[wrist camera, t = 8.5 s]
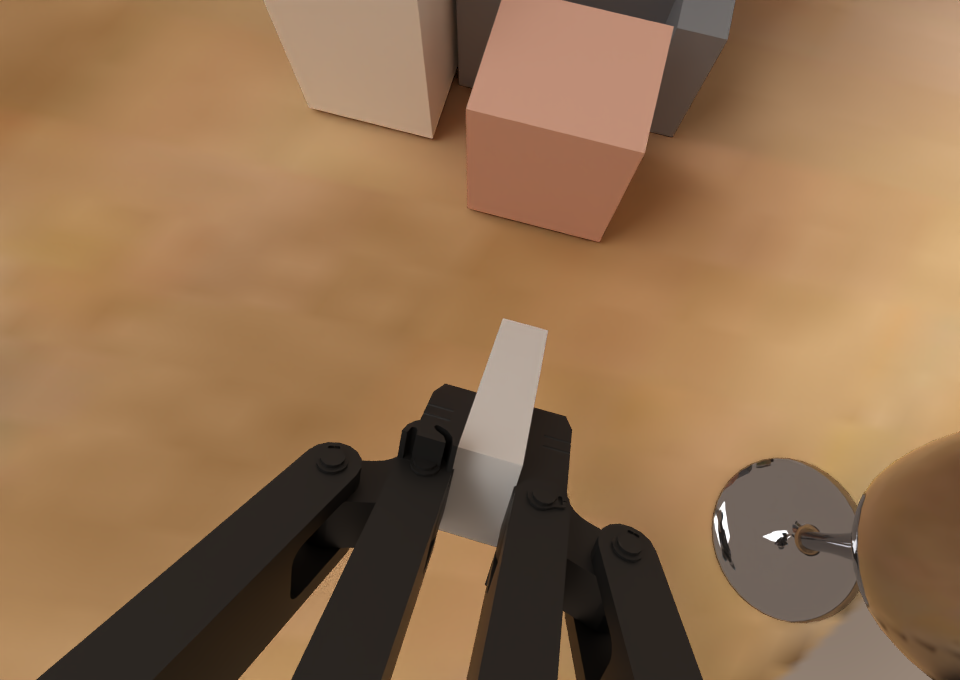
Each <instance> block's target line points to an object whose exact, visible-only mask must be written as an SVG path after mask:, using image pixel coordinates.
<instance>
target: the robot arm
mask: <svg viewBox="0 0 960 680" xmlns="http://www.w3.org/2000/svg"><path fill="white" fill-rule="evenodd" d="M547 334H548V330H545V329H541V328H537V327H534V326H530V325H526V324H523V323H519V322H515V321H512V320H508V319H504V318H503V320H502V322H501V325H500V328H499V331H498V334H497V337H496V340H495V342H494V345H493V348H492V351H491V354H490V357H489V360H488V362H487V365H486V368H485V371H484V374H483V377H482V379H481V382H480V385H479V388H478V391H477V393H476V392H473V391H469V390H466V389H462V388H459V387H455V386H452V385H448V384H444V385H443V386H441V387H440V388H438V389H437V390H435V391H434V392H433V394H432V396H431V398H430V400H429V402H428V405H427V407H426V409H425V411H424V414H423V415H422V417H421V420H418V421H414V422H412V423H410V424H407V426H406V427H405V428H404V429H403V430H402V434H401V440H400V446H399V452H398V456H397V457H395V458H393V459H389V460H385V461H362V459H361V457H360V455H359V454H358V452H357V451H356V450H354V449H353V448H352V447H350V446H348V445H345V444H342V443H333V442H327V443H323V444H318V445H316V446H314V447H313V448H311V449H309V450H308V451H307V452H305V453H304V454H303V455H302V456H301V457H299V458H298V459H297V460H296V461H295V462H294V463H292V464H291V465H290V466H289V467H288V468H286V469H285V470H284V471H283V472H282V473H281V474H279V475H278V476H277V477H276V478H275V479H273V480H272V481H271V482H270V483H269V484H268V485H266V486H265V487H264V488H263V489H262V490H260V491H259V492H258V493H257V494H256V495H254V496H253V497H252V498H251V499H250V500H249V501H247V502H246V503H245V504H244V505H243V506H241V507H240V508H239V509H238V510H237V511H236V512H234V513H233V514H232V515H231V516H230V517H228V518H227V519H226V520H225V521H224V522H222V523H221V524H220V525H219V526H218V527H217V528H215V529H214V530H213V531H212V532H211V533H209V534H208V535H207V536H206V537H205V538H204V539H202V540H201V541H200V542H199V543H198V544H196V545H195V546H194V547H193V548H192V549H191V550H189V551H188V552H187V553H186V554H185V555H183V556H182V557H181V558H180V559H179V560H177V561H176V562H175V563H174V564H173V565H172V566H170V567H169V568H168V569H167V570H166V571H164V572H163V573H162V574H161V575H160V576H159V577H157V578H156V579H155V580H154V581H153V582H151V583H150V584H149V585H148V586H147V587H145V588H144V589H143V590H142V591H141V592H140V593H138V594H137V595H136V596H135V597H134V598H132V599H131V600H130V601H129V602H128V603H127V604H125V605H124V606H123V607H122V608H121V609H119V610H118V611H117V612H116V613H115V614H114V615H112V616H111V617H110V618H109V619H108V620H106V621H105V622H104V623H103V624H102V625H100V626H99V627H98V628H97V629H96V630H95V631H93V632H92V633H91V634H90V635H89V636H87V637H86V638H85V639H84V640H83V641H82V642H80V643H79V644H78V645H77V646H76V647H74V648H73V649H72V650H71V651H70V652H69V653H67V654H66V655H65V656H64V657H63V658H61V659H60V660H59V661H58V662H57V663H55V664H54V665H53V666H52V667H51V668H50V669H48V670H47V671H46V672H45V673H44V674H42V675H41V676H40V677H39V678H38V679H37V680H238V679H239V678H240V677H241V675H242V674H243V673H244V672H245V671H246V670H247V668H248V667H249V666H250V665H251V664H252V663H253V661H254V660H255V659H256V658H257V657H258V656H259V654H260V653H261V652H262V651H263V650H264V649H265V647H266V646H267V645H268V644H269V643H270V642H271V640H272V639H273V638H274V637H275V636H276V635H277V633H278V632H279V631H280V630H281V629H282V628H283V626H284V625H285V624H286V623H287V622H288V621H289V619H290V618H291V617H292V616H293V615H294V614H295V612H296V611H297V610H298V609H299V608H300V607H301V605H302V604H303V603H304V602H305V601H306V600H307V598H308V597H309V596H310V595H311V594H312V593H313V591H314V590H315V589H316V588H317V587H318V586H319V584H320V583H321V582H322V581H323V580H324V579H325V577H326V576H327V575H328V574H329V573H330V572H331V570H332V569H333V568H334V567H335V566H336V565H337V563H338V562H339V561H340V560H341V559H342V558H343V556H344V555H345V554H346V553H347V551H348V550H349V548H354V550H353V552H352V554H351V556H350V558H349V560H348V562H347V564H346V566H345V568H344V571H343V573H342V575H341V577H340V579H339V581H338V583H337V585H336V587H335V589H334V591H333V594H332V596H331V598H330V600H329V602H328V604H327V606H326V608H325V610H324V612H323V614H322V617H321V619H320V621H319V623H318V625H317V627H316V629H315V631H314V633H313V635H312V638H311V640H310V642H309V644H308V646H307V648H306V650H305V652H304V654H303V656H302V658H301V661H300V663H299V665H298V667H297V669H296V671H295V673H294V675H293V677H292V679H291V680H391V677H392V674H393V671H394V668H395V664H396V661H397V658H398V655H399V652H400V649H401V646H402V643H403V640H404V637H405V634H406V631H407V628H408V625H409V621H410V618H411V615H412V612H413V609H414V606H415V603H416V600H417V597H418V594H419V591H420V588H421V585H422V582H423V578H424V575H425V572H426V569H427V566H428V563H429V560H430V557H431V554H432V551H433V548H434V544H435V540H436V535H437V532H438V530H441V531H445V532H448V533H451V534H455V535H458V536H461V537H465V538H468V539H471V540H475V541H478V542H481V543H485V544H488V545H491V546H495V547H497V548H496V552H495V555H494V558H493V561H492V564H491V567H490V570H489V574H488V577H487V580H486V583H485V585H486V586H487V587H486V592H485V596H484V601H483V606H482V610H481V615H480V620H479V624H478V629H477V634H476V638H475V643H474V648H473V652H472V657H471V662H470V666H469V671H468V675H467V680H557V679H558V666H559V653H560V639H561V626H562V613H563V611H564V612H565V619H566V625H567V630H568V636H569V641H570V647H571V652H572V658H573V663H574V669H575V674H576V680H703V678H702V676H701V673H700V670H699V668H698V665H697V662H696V659H695V657H694V654H693V651H692V648H691V646H690V643H689V640H688V637H687V635H686V632H685V629H684V626H683V624H682V621H681V618H680V616H679V613H678V610H677V607H676V605H675V602H674V599H673V596H672V594H671V591H670V588H669V585H668V583H667V580H666V577H665V574H664V572H663V569H662V566H661V563H660V561H659V558H658V555H657V553H656V550H655V548H654V547H653V545H652V543H651V541H650V540H649V539H648V538H646V537H645V536H644V535H643V534H642V533H641V532H639V531H637V530H636V529H634V528H632V527H630V526H626V525H622V524H610V525H608V526H606V527H604V528H603V529H602V530H601V529H599V528H597V527H596V526H594V525H592V524H590V523H589V522H587V521H586V520H584V519H583V518H581V517H580V516H579V515H578V514H577V513H576V512H575V511H574V509H573V508H572V506H571V505H570V502H569V498H568V497H567V484H568V472H569V460H570V448H571V445H570V444H571V436H572V429H571V427H570V424H569V422H568V420H567V418H566V416H562V415H559V414H555V413H552V412H548V411H544V410H541V409H537V408H534V403H535V398H536V392H537V387H538V382H539V377H540V371H541V366H542V361H543V355H544V350H545V345H546V339H547Z"/></svg>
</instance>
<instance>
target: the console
mask: <svg viewBox="0 0 960 680" xmlns="http://www.w3.org/2000/svg"><path fill="white" fill-rule="evenodd" d="M563 1H568V2H572V3H576V4H580V5H585V6H589V7H593V8H597V9H602V10H606V11H610V12H614V13H619V14H623V15H627V16H631V17H636V18H640V19H644V20H648V21H653V22H657V23H661V24H665V25H670V26H674V28H673V32H672V37H671V41H670V45H669V50H668V54H667V58H666V63H665V67H664V71H663V76H662V80H661V84H660V89H659V93H658V98H657V102H656V106H655V111H654V115H653V119H652V124H651V128H650V132H653V133H657V134H662V135H666V136H670V137H673V135H674V134H675V132H676V130H677V128H678V126H679V125H680V123H681V121H682V119H683V118H684V116H685V114H686V112H687V111H688V109H689V107H690V105H691V104H692V102H693V100H694V98H695V96H696V95H697V93H698V91H699V89H700V88H701V86H702V84H703V82H704V81H705V79H706V77H707V75H708V74H709V72H710V70H711V68H712V66H713V65H714V63H715V61H716V59H717V58H718V56H719V54H720V52H721V51H722V49H723V47H724V45H725V44H726V42H727V40H728V35H729V30H730V25H731V20H732V15H733V10H734V5H735V0H563ZM500 3H501V0H456V6H457V37H458V68H459V85H462V86H466V87H470V88H473V86H474V82H475V79H476V76H477V73H478V70H479V67H480V64H481V61H482V58H483V55H484V52H485V49H486V46H487V43H488V40H489V37H490V34H491V31H492V28H493V24H494V21H495V18H496V15H497V12H498V9H499V6H500Z"/></svg>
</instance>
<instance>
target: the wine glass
mask: <svg viewBox="0 0 960 680" xmlns="http://www.w3.org/2000/svg"><path fill="white" fill-rule="evenodd" d="M712 538H713V545H714V550H715V554H716V558H717V560H718V562H719V565H720V567H721V570H722V572H723V573H724V575H725V577H726V578H727V580H728V582H729V584H730V585H731V586H732V587H733V588H734V590H735V591H736V592H737V593H738V594H739V596H741V597H742V598H743V599H744V600H745V601H746V602H747V603H748V604H750V605H751V606H752V607H754V608H755V609H757V610H759V611H760V612H762V613H763V614H766V615H768V616H770V617H773V618H775V619H778V620H782V621H787V622H791V623H809V622H815V621H820V620H823V619H825V618H828V617H830V616H833V615H834V614H836V613H837V612H839V611H840V610H842V609H843V608H845V607H846V606H847V605H848V604H849V603H850V602H851V601H852V600H853V599H854V597H855V596H856V594H857V593H858V591H859V590H860V593H861V595H862V597H863V599H864V601H865V603H866V606H867V608H868V610H869V611H870V613H871V615H872V616H873V618H874V619H875V621H876V622H877V624H878V625H879V627H880V628H881V630H882V631H883V632H884V633H885V634H886V635H887V637H888V638H889V639H890V640H891V641H892V642H893V643H894V645H895V646H896V647H897V648H898V649H899V650H900V651H901V652H902V653H903V654H904V655H905V656H906V657H907V658H908V659H909V660H910V661H911V662H912V663H913V664H915V665H916V666H917V667H918V668H919V669H920V670H921V671H923V672H924V673H925V674H926V675H927V676H929V677H930V678H931V679H932V680H960V431H959V432H956V433H953V434H950V435H947V436H945V437H942V438H939V439H936V440H933V441H931V442H929V443H927V444H925V445H923V446H921V447H918V448H916V449H914V450H912V451H910V452H909V453H907V454H905V455H904V456H902V457H900V458H899V459H897V460H896V461H894V462H893V463H892V464H890V465H889V466H888V467H886V468H885V469H884V470H883V471H882V472H881V473H880V474H879V475H878V476H877V477H876V478H875V479H873V481H872V482H871V483H870V485H869V486H868V488H867V489H866V491H865V492H864V494H863V495H862V498H861V500H860V502H859V505H858V507H857V505H856V504H855V502H854V501H853V499H852V498H851V496H850V495H849V493H848V492H847V491H846V490H845V489H844V488H843V487H842V486H841V485H840V483H839V482H837V481H836V480H835V479H834V478H832V477H831V476H830V475H829V474H827V473H826V472H824V471H822V470H821V469H819V468H817V467H816V466H813V465H811V464H808V463H806V462H803V461H799V460H795V459H790V458H771V459H764V460H761V461H758V462H755V463H752V464H750V465H748V466H747V467H745V468H743V469H741V470H740V471H739V472H738V473H736V474H735V475H734V476H733V477H732V478H731V479H730V480H729V481H728V483H727V484H726V485H725V487H724V488H723V490H722V492H721V494H720V496H719V498H718V500H717V502H716V506H715V509H714V513H713V521H712Z"/></svg>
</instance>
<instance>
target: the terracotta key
mask: <svg viewBox="0 0 960 680" xmlns="http://www.w3.org/2000/svg"><path fill="white" fill-rule="evenodd" d="M673 28H674V26H670V25H665V24H661V23H657V22H653V21H648V20H644V19H640V18H636V17H631V16H627V15H623V14H619V13H614V12H610V11H606V10H602V9H597V8H593V7H589V6H585V5H580V4H576V3H572V2H568V1H563V0H501V3H500V6H499V9H498V12H497V15H496V18H495V21H494V24H493V28H492V31H491V34H490V37H489V40H488V43H487V46H486V49H485V52H484V55H483V58H482V61H481V64H480V67H479V70H478V73H477V76H476V79H475V82H474V86H473V89H472V92H471V95H470V98H469V101H468V104H467V107H466V150H467V208H469V209H473V210H476V211H480V212H484V213H488V214H492V215H496V216H500V217H504V218H508V219H511V220H515V221H519V222H523V223H527V224H531V225H535V226H539V227H542V228H546V229H550V230H554V231H558V232H562V233H566V234H570V235H573V236H577V237H581V238H585V239H589V240H593V241H597V242H600V240H601V238H602V236H603V234H604V232H605V230H606V228H607V226H608V224H609V222H610V220H611V218H612V216H613V214H614V212H615V210H616V208H617V207H618V205H619V203H620V201H621V199H622V197H623V195H624V193H625V191H626V189H627V187H628V185H629V183H630V181H631V179H632V177H633V175H634V173H635V171H636V169H637V167H638V165H639V163H640V162H641V160H642V158H643V156H644V154H645V150H646V146H647V141H648V137H649V132H650V128H651V124H652V119H653V115H654V111H655V106H656V102H657V98H658V93H659V89H660V84H661V80H662V76H663V71H664V67H665V63H666V58H667V54H668V50H669V45H670V41H671V37H672V32H673Z"/></svg>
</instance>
